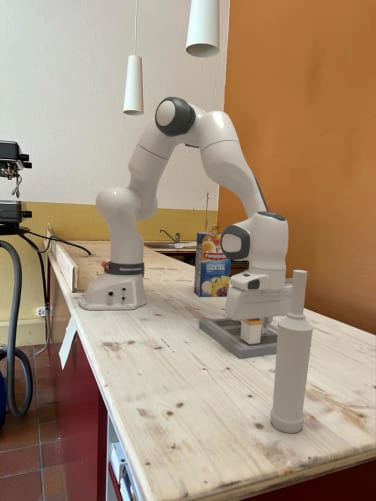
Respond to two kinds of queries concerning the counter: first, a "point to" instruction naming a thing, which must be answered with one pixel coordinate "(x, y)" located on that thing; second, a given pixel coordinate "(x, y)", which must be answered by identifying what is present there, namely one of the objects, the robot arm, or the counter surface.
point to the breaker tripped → (251, 330)
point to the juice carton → (211, 267)
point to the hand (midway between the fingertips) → (262, 333)
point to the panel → (239, 338)
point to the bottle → (292, 361)
